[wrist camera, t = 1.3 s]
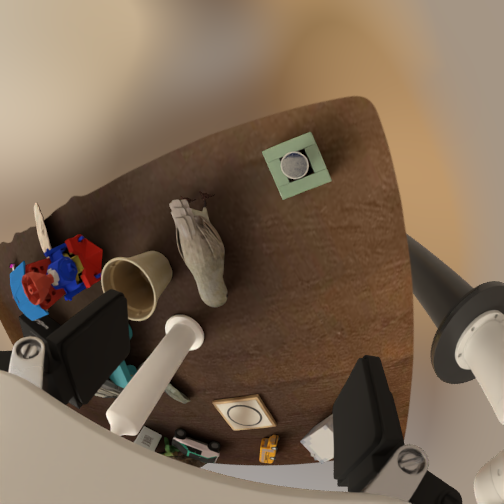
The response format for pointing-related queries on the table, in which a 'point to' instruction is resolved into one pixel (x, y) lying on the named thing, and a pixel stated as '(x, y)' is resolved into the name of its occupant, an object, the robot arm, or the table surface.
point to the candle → (154, 376)
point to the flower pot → (138, 281)
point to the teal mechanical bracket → (123, 371)
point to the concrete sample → (188, 460)
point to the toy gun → (109, 390)
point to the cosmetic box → (148, 439)
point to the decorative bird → (201, 249)
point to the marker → (294, 165)
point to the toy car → (196, 447)
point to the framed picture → (245, 412)
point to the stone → (173, 392)
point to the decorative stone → (41, 229)
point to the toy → (321, 440)
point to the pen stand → (307, 181)
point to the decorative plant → (169, 449)
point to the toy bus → (268, 449)
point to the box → (38, 327)
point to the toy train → (56, 276)
